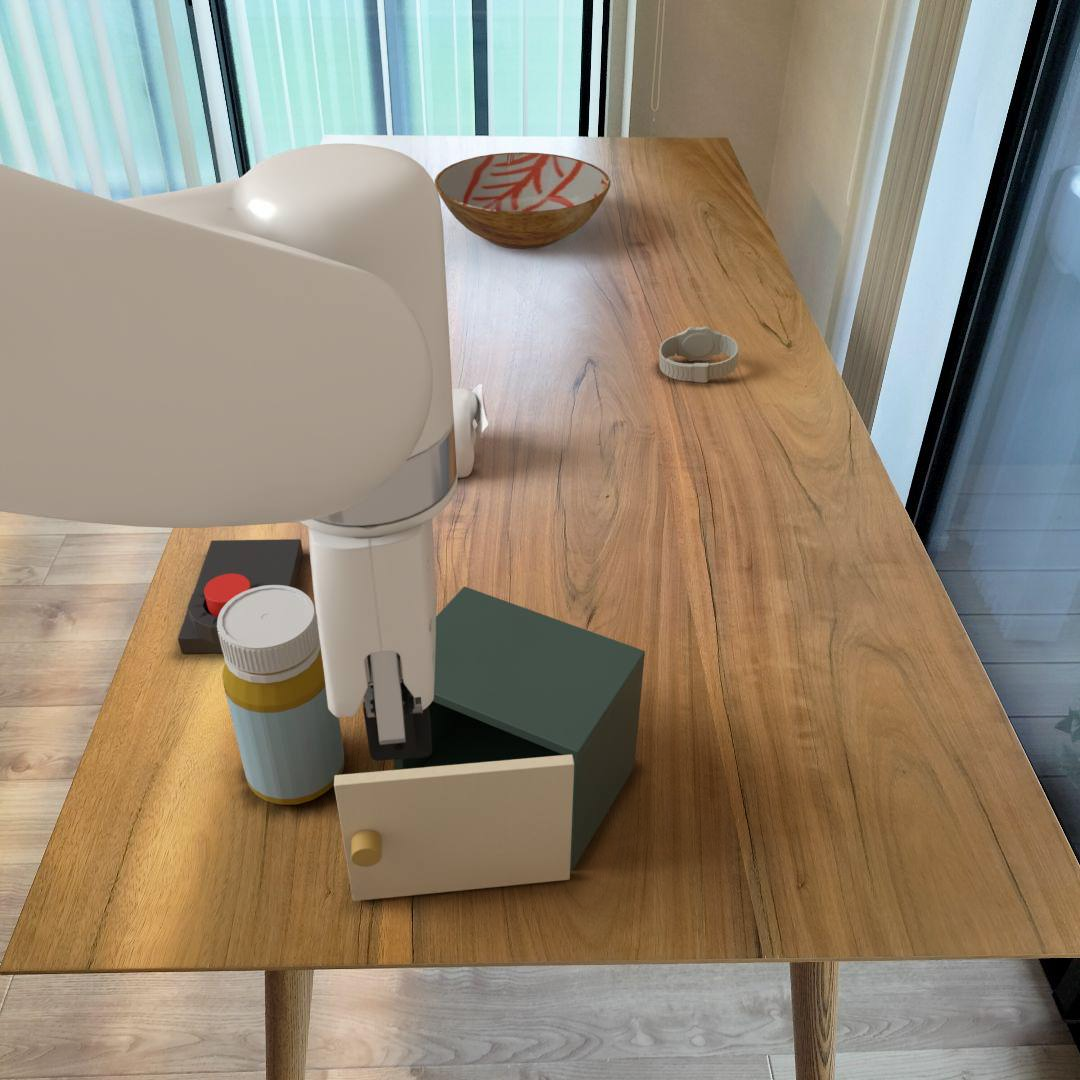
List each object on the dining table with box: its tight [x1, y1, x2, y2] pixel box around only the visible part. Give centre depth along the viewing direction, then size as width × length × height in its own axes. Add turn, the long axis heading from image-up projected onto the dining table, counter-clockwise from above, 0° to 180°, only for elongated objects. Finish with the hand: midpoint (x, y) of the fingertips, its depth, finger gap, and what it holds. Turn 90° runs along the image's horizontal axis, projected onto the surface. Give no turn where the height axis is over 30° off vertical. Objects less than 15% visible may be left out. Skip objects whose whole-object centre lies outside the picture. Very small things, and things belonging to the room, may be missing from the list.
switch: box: [177, 538, 304, 655], centre depth 91 cm, size 14×8×4 cm, turn 2°
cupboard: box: [393, 585, 646, 870], centre depth 74 cm, size 10×14×12 cm
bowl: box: [434, 151, 611, 250], centre depth 156 cm, size 25×25×8 cm
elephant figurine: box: [452, 383, 489, 479], centre depth 108 cm, size 10×12×9 cm
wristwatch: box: [658, 326, 739, 384], centre depth 124 cm, size 9×6×5 cm
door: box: [333, 754, 574, 902], centre depth 66 cm, size 2×14×11 cm, turn 97°
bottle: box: [217, 585, 346, 806], centre depth 73 cm, size 7×7×15 cm
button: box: [204, 574, 251, 617], centre depth 87 cm, size 4×4×2 cm
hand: (401, 747), depth 57 cm, fingers closed
